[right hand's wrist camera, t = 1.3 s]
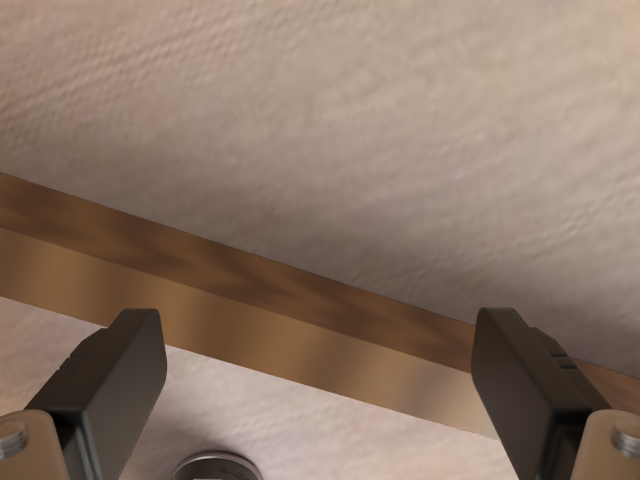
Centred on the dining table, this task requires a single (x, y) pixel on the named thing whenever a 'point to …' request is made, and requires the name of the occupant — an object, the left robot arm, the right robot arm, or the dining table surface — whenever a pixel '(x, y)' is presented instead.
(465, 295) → the dining table surface
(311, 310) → the beam
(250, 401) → the dining table surface
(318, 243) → the dining table surface
